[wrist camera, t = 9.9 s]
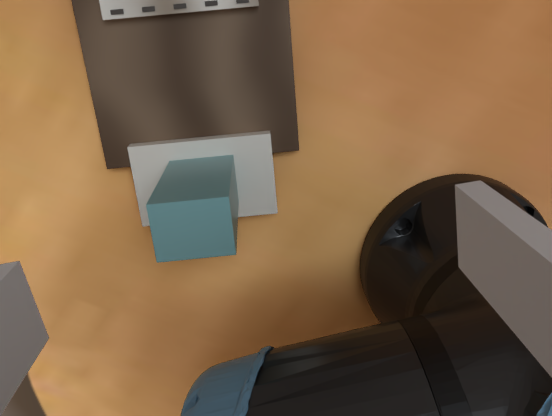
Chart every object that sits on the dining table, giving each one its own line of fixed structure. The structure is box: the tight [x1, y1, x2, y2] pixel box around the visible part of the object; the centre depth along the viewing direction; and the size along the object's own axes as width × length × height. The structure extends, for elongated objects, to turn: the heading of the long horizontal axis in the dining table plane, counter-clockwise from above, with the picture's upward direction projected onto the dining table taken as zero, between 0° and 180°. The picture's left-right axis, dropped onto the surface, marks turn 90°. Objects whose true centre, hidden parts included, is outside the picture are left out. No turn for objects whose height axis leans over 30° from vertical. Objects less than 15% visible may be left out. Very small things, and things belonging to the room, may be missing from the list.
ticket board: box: [72, 0, 299, 169], centre depth 33 cm, size 14×20×4 cm
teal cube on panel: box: [127, 131, 278, 263], centre depth 33 cm, size 10×6×10 cm, turn 95°
